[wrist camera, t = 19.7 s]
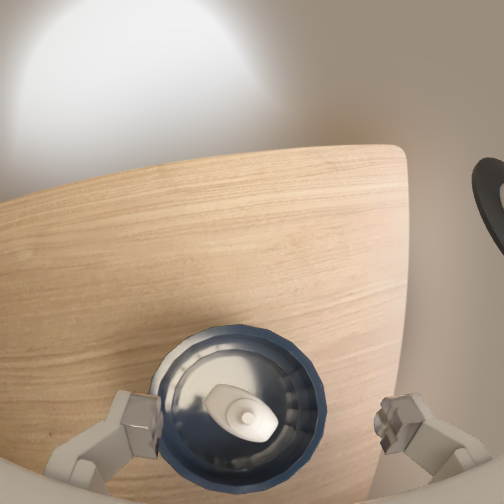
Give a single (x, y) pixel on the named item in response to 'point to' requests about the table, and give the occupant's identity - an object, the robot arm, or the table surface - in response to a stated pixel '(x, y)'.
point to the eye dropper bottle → (241, 413)
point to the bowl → (252, 380)
